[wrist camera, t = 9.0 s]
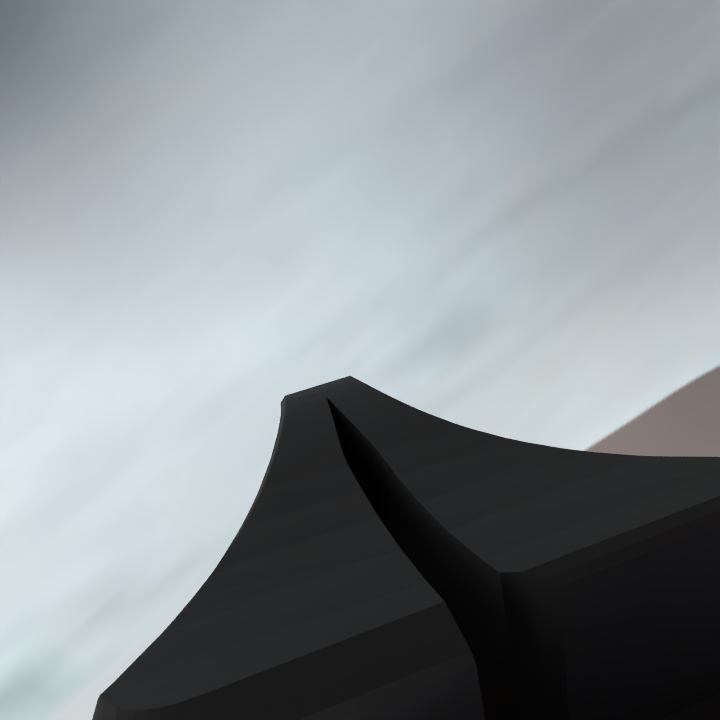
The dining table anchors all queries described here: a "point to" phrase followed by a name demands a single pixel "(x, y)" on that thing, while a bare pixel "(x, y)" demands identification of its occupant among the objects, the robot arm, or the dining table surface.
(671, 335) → the dining table surface
